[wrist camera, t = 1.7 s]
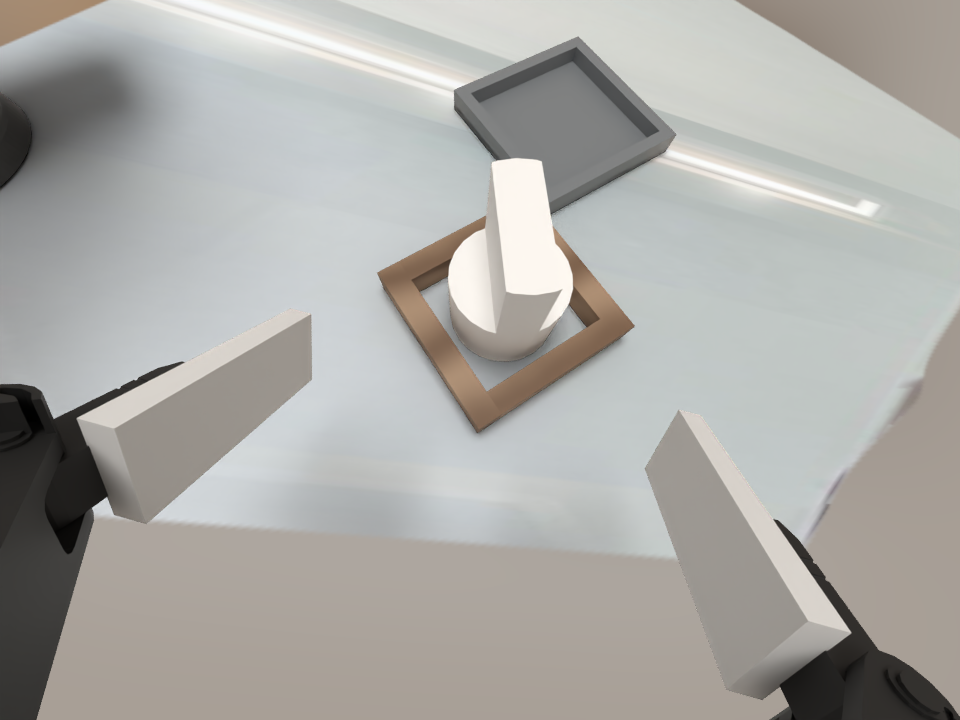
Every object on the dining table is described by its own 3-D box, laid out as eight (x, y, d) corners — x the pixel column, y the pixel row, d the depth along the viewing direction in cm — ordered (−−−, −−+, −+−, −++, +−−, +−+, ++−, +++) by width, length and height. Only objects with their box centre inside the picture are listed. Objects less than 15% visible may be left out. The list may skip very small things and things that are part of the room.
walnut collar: (383, 287, 32) (377, 272, 29) (522, 213, 35) (526, 194, 32) (477, 433, 28) (479, 429, 26) (621, 337, 31) (634, 326, 29)
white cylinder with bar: (447, 269, 32) (439, 160, 21) (545, 265, 33) (590, 156, 22) (453, 365, 30) (448, 299, 18) (559, 358, 31) (618, 290, 19)
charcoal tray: (454, 109, 38) (454, 89, 36) (572, 56, 41) (578, 36, 39) (543, 217, 35) (548, 203, 33) (665, 151, 38) (676, 134, 36)
